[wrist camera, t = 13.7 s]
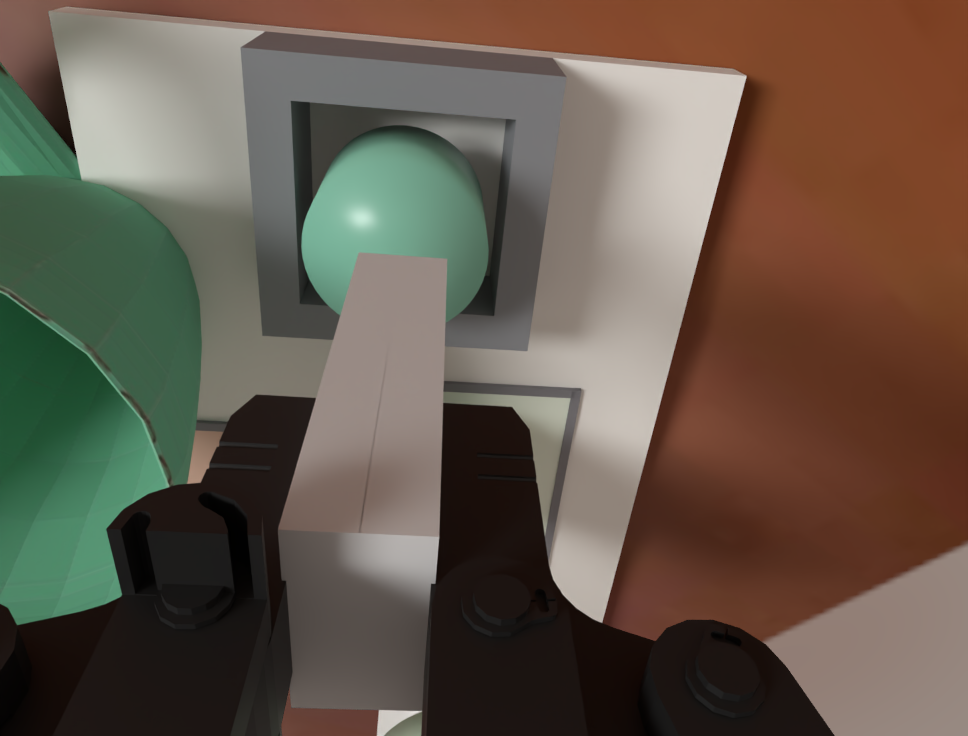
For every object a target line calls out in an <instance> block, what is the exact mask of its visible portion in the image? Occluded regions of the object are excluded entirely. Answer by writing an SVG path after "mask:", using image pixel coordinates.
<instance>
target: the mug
mask: <svg viewBox="0 0 968 736" xmlns="http://www.w3.org/2000/svg"><path fill="white" fill-rule="evenodd" d="M201 353H202V337H201V317H200V300H199V296H198V292H197V288H196V284H195V281H194V278H193V274H192V271H191V268H190V265H189V261H188V258H187V256H186V254H185V253H184V251H183V250H182V248H181V247H180V245H179V244H178V243H177V241H176V240H175V238H174V237H173V235H172V234H171V232H170V231H169V229H168V228H167V227H166V226H165V225H164V224H163V223H161V222H160V221H159V220H158V219H157V218H156V217H154V216H153V215H152V214H151V213H150V212H149V211H148V210H146V209H145V208H144V207H143V206H142V205H141V204H139V203H138V202H136V201H134V200H132V199H130V198H128V197H126V196H124V195H122V194H120V193H118V192H116V191H114V190H112V189H110V188H108V187H106V186H104V185H99V184H94V183H90V182H85V181H82V179H81V174H80V169H79V164H78V159H77V157H76V155H75V154H74V153H73V152H72V151H71V149H70V148H69V147H68V146H67V144H66V143H65V142H64V141H63V139H62V138H61V137H60V136H59V134H58V133H57V132H56V131H55V129H54V128H53V127H52V126H51V125H50V123H49V122H48V121H47V120H46V118H45V117H44V116H43V115H42V113H41V112H40V111H39V110H38V108H37V107H36V106H35V105H34V103H33V102H32V101H31V100H30V99H29V97H28V96H27V95H26V94H25V92H24V91H23V90H22V89H21V87H20V86H19V85H18V84H17V82H16V81H15V80H14V79H13V78H12V76H11V75H10V74H9V73H8V71H7V70H6V69H5V68H4V66H3V65H2V64H1V63H0V604H2V605H4V606H6V607H7V608H8V609H9V611H10V612H11V614H12V616H13V618H14V620H15V622H16V624H17V625H20V624H25V623H29V622H34V621H39V620H43V619H48V618H52V617H57V616H62V615H66V614H71V613H76V612H80V611H84V610H87V609H91V608H94V607H97V606H101V605H104V604H106V603H109V602H111V601H113V600H115V599H117V598H119V597H121V595H122V593H121V589H120V584H119V580H118V576H117V572H116V568H115V564H114V560H113V556H112V551H111V547H110V543H109V539H108V535H107V531H106V528H107V527H108V526H109V525H110V524H111V523H112V522H113V520H114V519H115V518H116V517H117V516H118V515H119V513H120V512H121V511H122V510H123V509H124V508H126V507H127V506H129V505H131V504H132V503H134V502H136V501H137V500H139V499H141V498H142V497H144V496H145V495H147V494H149V493H152V492H155V491H158V490H162V489H165V488H168V487H171V486H174V485H178V484H187V482H188V476H189V469H190V463H191V456H192V450H193V443H194V436H195V430H196V422H197V412H198V401H199V391H200V380H201V376H200V374H201Z"/></svg>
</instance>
